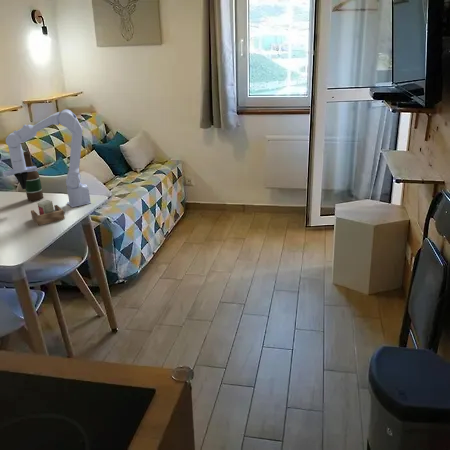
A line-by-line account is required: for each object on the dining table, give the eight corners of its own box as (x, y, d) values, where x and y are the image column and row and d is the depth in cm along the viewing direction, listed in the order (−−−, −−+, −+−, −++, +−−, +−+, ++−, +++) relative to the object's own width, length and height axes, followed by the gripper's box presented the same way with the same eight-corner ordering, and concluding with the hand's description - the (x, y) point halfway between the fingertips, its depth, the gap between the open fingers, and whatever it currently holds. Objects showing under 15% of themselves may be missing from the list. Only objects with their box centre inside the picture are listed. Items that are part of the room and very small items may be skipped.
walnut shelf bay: (58, 213, 220) (56, 204, 219) (64, 218, 213) (63, 210, 211) (32, 219, 214) (30, 210, 213) (38, 225, 207) (36, 216, 205)
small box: (50, 215, 217) (47, 199, 214) (55, 217, 215) (52, 201, 212) (40, 219, 214) (36, 202, 211) (45, 221, 211) (42, 204, 208)
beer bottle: (24, 200, 240) (14, 153, 231) (37, 195, 246) (28, 149, 237) (33, 202, 236) (23, 154, 227) (47, 197, 242) (38, 151, 233)
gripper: (32, 155, 224) (37, 183, 229) (-1, 161, 217) (5, 189, 222) (36, 158, 219) (41, 186, 224) (2, 164, 211) (8, 193, 216)
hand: (23, 188), depth 223 cm, fingers closed
